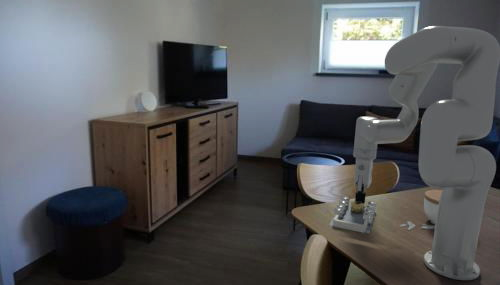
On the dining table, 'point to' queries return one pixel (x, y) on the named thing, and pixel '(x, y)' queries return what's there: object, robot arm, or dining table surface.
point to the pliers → (415, 225)
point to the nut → (357, 207)
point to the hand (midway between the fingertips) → (359, 202)
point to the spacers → (345, 203)
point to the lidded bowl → (432, 204)
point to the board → (352, 221)
